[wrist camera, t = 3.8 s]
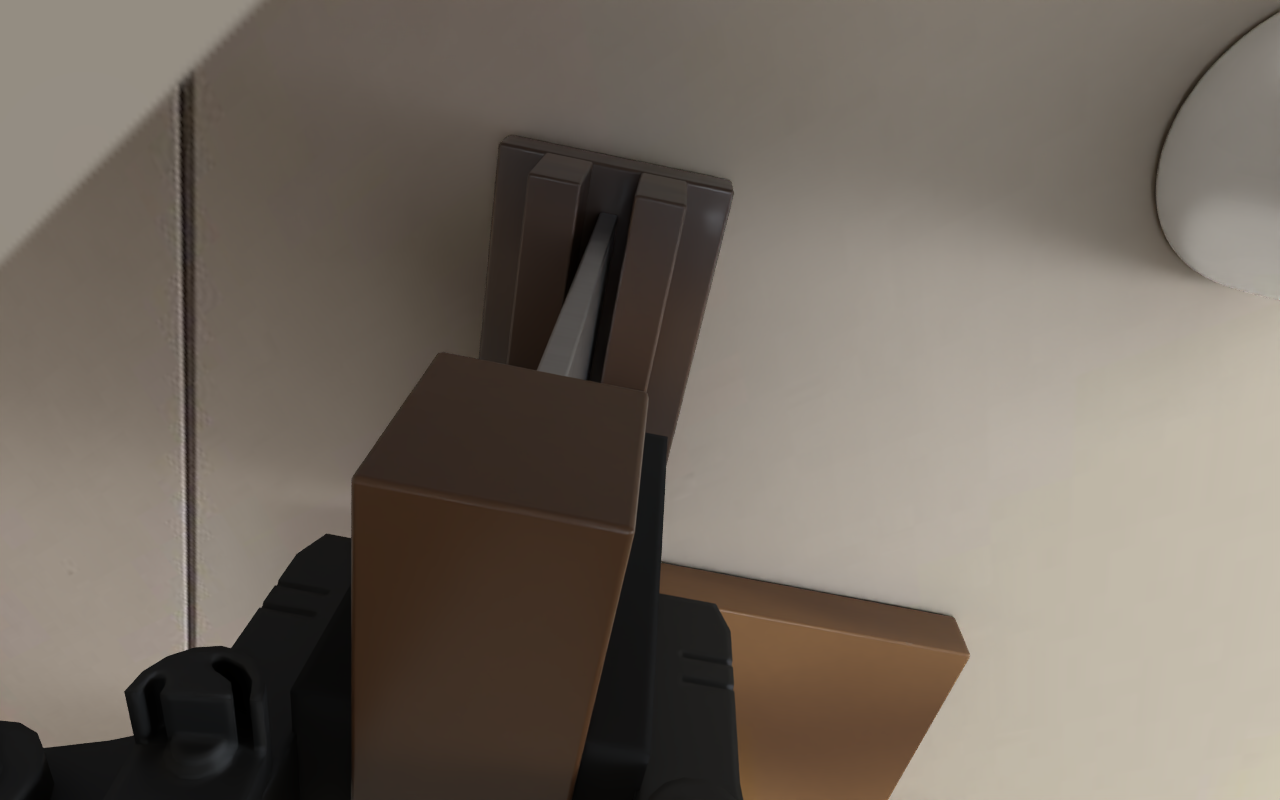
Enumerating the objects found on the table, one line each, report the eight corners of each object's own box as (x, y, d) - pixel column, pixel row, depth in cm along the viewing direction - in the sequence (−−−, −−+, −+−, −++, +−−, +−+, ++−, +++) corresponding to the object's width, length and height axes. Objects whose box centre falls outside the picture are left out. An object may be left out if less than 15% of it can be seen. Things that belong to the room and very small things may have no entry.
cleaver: (557, 178, 16) (348, 476, 6) (669, 201, 16) (635, 531, 6) (512, 514, 20) (349, 997, 10) (600, 531, 20) (518, 1025, 11)
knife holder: (508, 133, 16) (473, 161, 14) (732, 180, 17) (740, 216, 14) (472, 497, 21) (441, 570, 19) (646, 530, 21) (640, 606, 19)
